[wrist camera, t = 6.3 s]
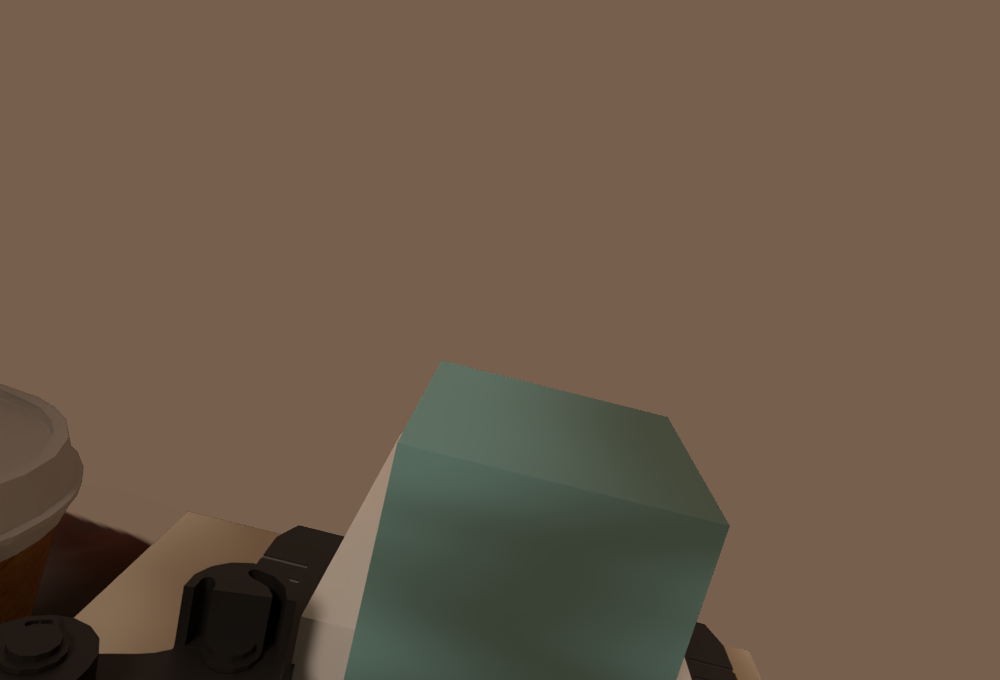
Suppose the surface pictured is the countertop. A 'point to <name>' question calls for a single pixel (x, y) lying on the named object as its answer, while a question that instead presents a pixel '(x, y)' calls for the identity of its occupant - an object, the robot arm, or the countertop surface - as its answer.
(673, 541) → the lid
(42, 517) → the disposable coffee cup
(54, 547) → the countertop surface
